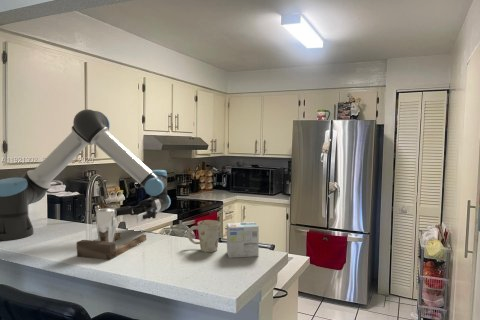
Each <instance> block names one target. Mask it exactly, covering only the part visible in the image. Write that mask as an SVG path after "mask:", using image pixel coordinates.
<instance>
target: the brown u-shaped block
mask: <svg viewBox="0 0 480 320" xmlns="http://www.w3.org/2000/svg"><path fill="white" fill-rule="evenodd" d="M121 235H122V234H121V232H115V239H114V242H104V241H99V240H90V239H81V240H77V241H76V256H77V258H78V257H80V258H90V259H99V260H100V259H101V260H110V261H111V260H113V259H115V258H116V257H118V256H120V255H122V254H123V253H125V252H127V251H128V250H131V249H132V248H134V247H136V246H138V245H140V244H142V243H144V242H146V241H147V234H142V235H139V236H137V237H135V238H134V239H132V240H129V241H128V242H126V243H124V244H122V245H120V246H118V247H116V245H117V244H116V241H117V240H120V239H121V237H122V236H121ZM141 242H142V243H141ZM139 243H140V244H139ZM137 244H138V245H137Z"/></svg>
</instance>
